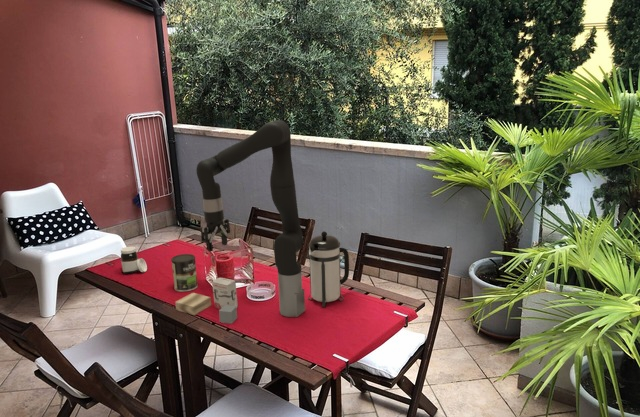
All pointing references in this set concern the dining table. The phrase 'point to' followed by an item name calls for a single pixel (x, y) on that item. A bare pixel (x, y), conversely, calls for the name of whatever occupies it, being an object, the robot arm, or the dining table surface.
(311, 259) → the coffee press
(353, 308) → the dining table surface
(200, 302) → the beech block
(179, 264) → the coffee can
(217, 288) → the ink box
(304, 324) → the dining table surface
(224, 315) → the slate cube
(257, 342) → the dining table surface
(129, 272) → the spread jar
